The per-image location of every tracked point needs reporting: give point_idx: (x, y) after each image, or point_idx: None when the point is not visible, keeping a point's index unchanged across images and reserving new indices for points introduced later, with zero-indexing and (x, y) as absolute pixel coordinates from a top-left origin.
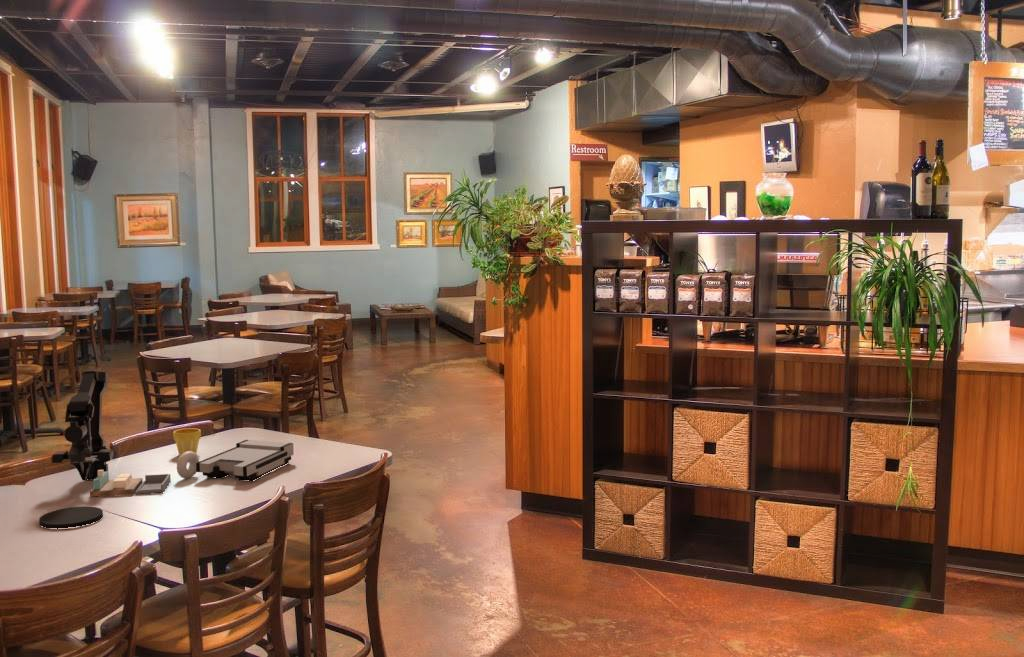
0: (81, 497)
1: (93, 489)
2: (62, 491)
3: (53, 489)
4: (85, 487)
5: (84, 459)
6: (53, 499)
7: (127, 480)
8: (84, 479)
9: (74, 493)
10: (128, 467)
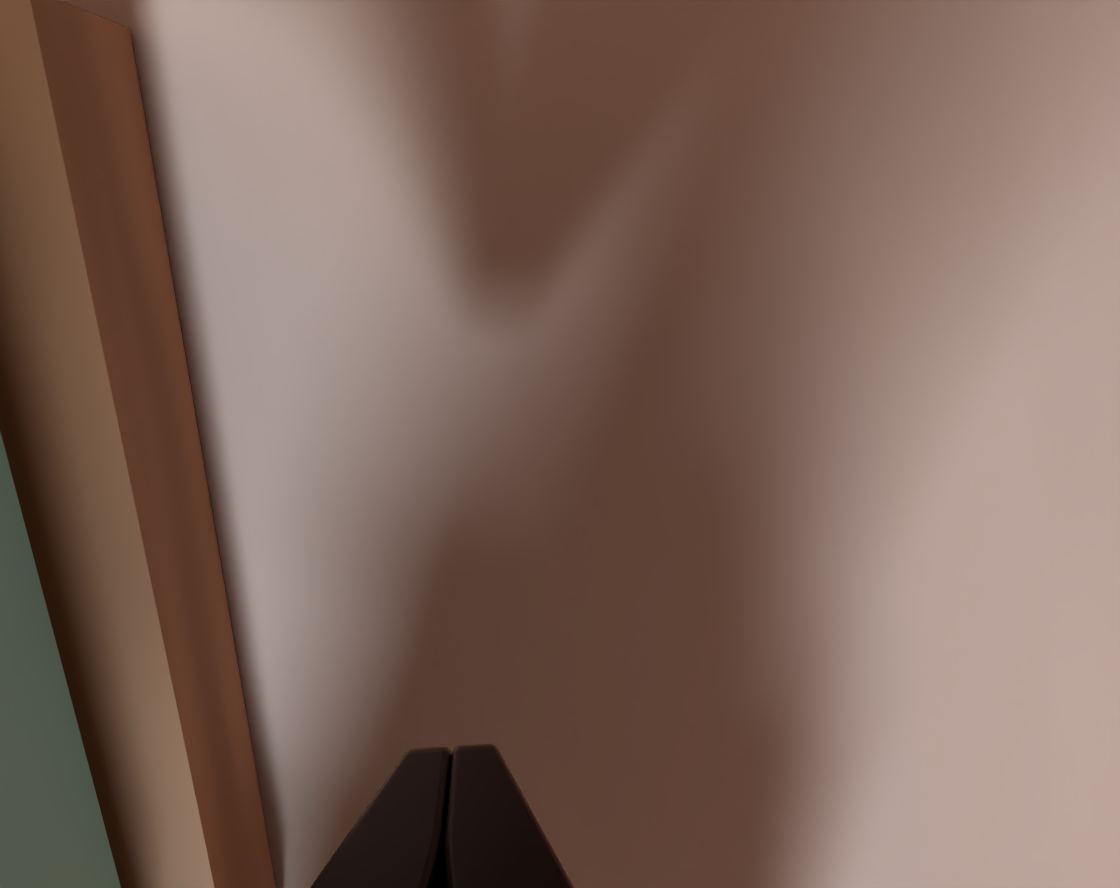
0: (386, 70)
1: (10, 244)
2: (940, 665)
3: (1106, 800)
4: None
5: None
6: (1083, 28)
7: None
8: (416, 763)
9: (669, 488)
10: None
